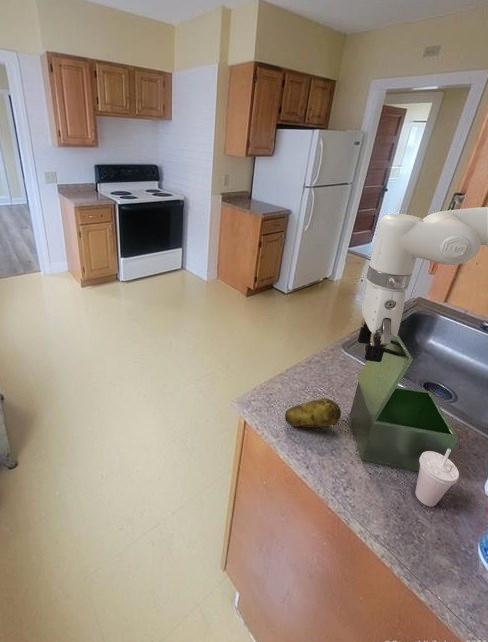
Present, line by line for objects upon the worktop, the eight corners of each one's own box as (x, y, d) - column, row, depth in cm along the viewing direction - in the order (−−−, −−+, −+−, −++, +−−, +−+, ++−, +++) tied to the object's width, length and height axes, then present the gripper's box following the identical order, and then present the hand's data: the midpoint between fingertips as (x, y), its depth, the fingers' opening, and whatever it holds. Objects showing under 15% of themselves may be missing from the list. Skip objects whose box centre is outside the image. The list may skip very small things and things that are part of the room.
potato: (287, 405, 89) (291, 382, 86) (337, 420, 84) (343, 397, 81) (282, 428, 82) (286, 404, 79) (336, 446, 77) (342, 422, 74)
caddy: (417, 426, 83) (430, 391, 79) (441, 476, 71) (458, 438, 66) (349, 414, 86) (358, 380, 82) (361, 460, 74) (372, 422, 70)
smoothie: (451, 514, 64) (476, 466, 58) (419, 513, 64) (440, 465, 59) (431, 482, 70) (451, 435, 64) (401, 481, 70) (419, 434, 64)
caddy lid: (391, 322, 74) (367, 316, 75) (413, 359, 62) (384, 351, 63) (360, 379, 82) (339, 372, 82) (375, 422, 69) (350, 414, 70)
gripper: (426, 298, 56) (400, 380, 62) (394, 263, 71) (376, 332, 78) (379, 293, 57) (359, 374, 64) (358, 260, 73) (343, 328, 79)
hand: (368, 350), depth 71 cm, fingers closed on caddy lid, 5 cm apart
